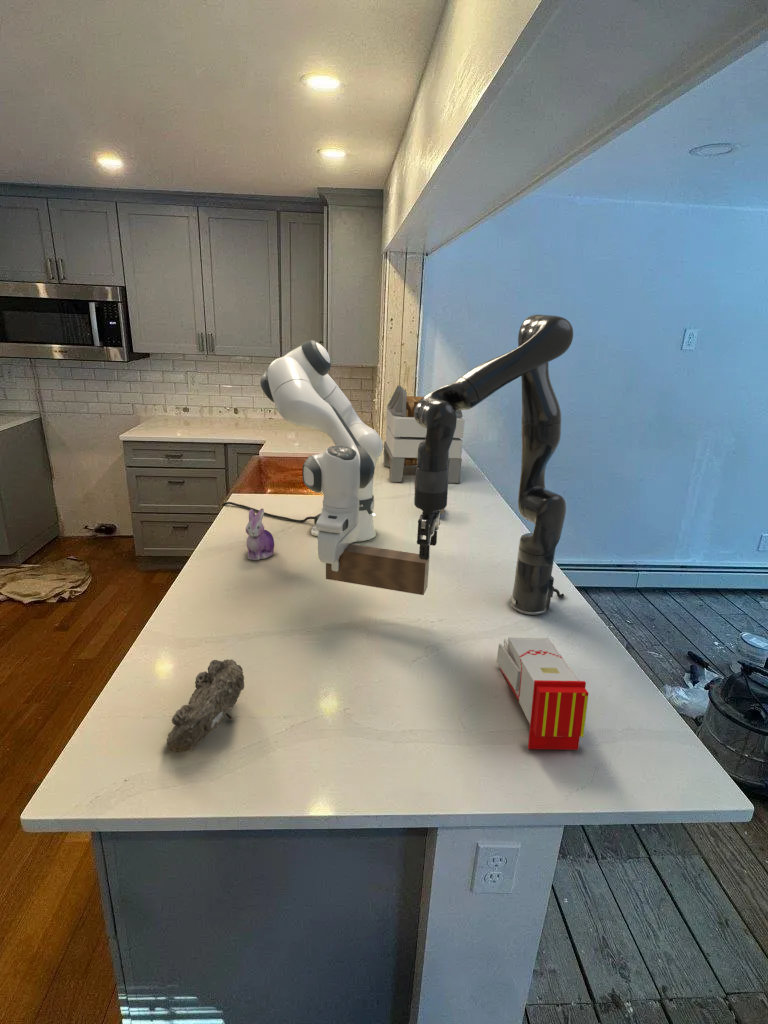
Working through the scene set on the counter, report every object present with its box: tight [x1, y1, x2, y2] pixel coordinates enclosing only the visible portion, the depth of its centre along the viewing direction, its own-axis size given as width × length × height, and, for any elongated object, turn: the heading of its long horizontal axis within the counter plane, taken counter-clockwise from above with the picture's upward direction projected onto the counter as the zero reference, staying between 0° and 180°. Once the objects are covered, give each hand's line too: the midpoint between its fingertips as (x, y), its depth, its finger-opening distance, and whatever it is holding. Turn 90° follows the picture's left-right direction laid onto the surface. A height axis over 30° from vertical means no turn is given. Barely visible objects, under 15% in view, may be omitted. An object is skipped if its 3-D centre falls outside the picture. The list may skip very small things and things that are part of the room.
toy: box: [496, 637, 589, 751], centre depth 115 cm, size 12×13×30 cm
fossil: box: [166, 658, 245, 754], centre depth 106 cm, size 22×10×15 cm
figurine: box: [245, 508, 275, 561], centre depth 176 cm, size 9×10×15 cm
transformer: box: [383, 384, 465, 484], centre depth 268 cm, size 34×33×41 cm
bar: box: [325, 543, 431, 596], centre depth 140 cm, size 25×5×8 cm, turn 74°
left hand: (339, 565), depth 143 cm, fingers closed on bar, 5 cm apart
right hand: (428, 551), depth 135 cm, fingers open, 8 cm apart
